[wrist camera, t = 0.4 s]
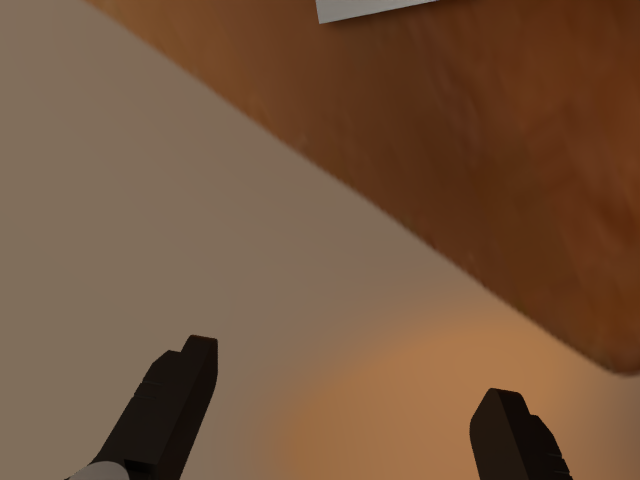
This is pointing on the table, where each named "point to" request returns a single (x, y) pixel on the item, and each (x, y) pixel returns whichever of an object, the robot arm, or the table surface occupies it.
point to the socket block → (358, 8)
